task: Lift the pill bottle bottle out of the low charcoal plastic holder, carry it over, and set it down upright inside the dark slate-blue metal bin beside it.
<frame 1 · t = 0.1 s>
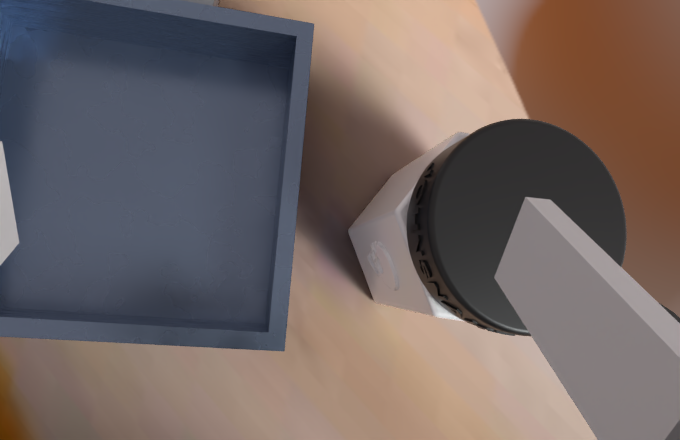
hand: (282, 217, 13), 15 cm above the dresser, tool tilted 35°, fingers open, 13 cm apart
bin: (144, 180, 27), on the dresser
jar: (417, 243, 30), on the dresser
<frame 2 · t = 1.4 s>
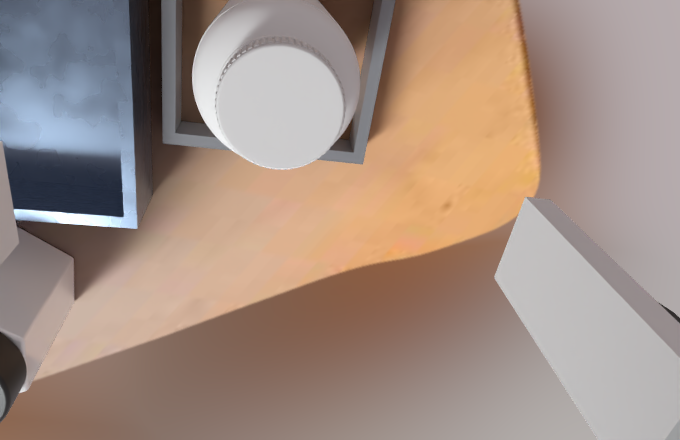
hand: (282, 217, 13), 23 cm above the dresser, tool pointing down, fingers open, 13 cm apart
holder: (276, 44, 33), on the dresser
bin: (19, 72, 32), on the dresser
jar: (22, 272, 39), on the dresser
pill bottle: (275, 44, 33), on the dresser
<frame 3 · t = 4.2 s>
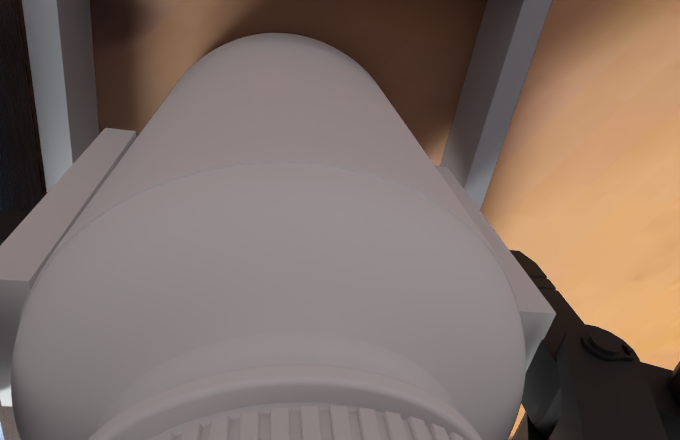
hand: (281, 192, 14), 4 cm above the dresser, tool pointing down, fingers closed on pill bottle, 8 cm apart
holder: (280, 145, 17), on the dresser
pill bottle: (280, 143, 18), on the dresser, touching gripper
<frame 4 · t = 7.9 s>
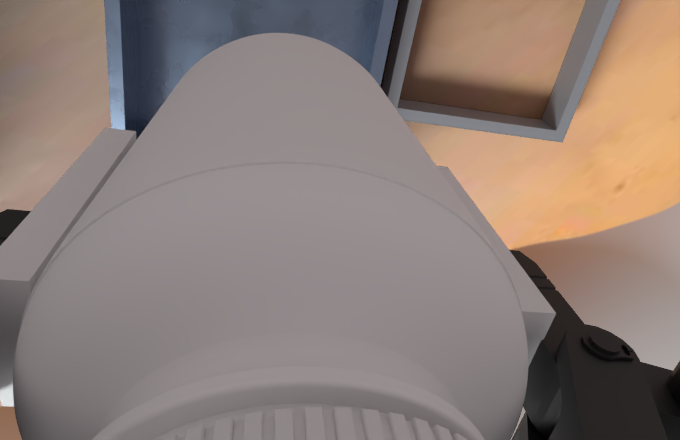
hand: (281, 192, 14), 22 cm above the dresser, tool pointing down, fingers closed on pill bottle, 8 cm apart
holder: (493, 24, 34), on the dresser
bin: (254, 48, 34), on the dresser
pill bottle: (281, 143, 18), point 19 cm above the dresser, touching gripper
when the fingers open (7 cm above the dresser, at t = 12.1 s): pill bottle drops 2 cm, resting on bin.
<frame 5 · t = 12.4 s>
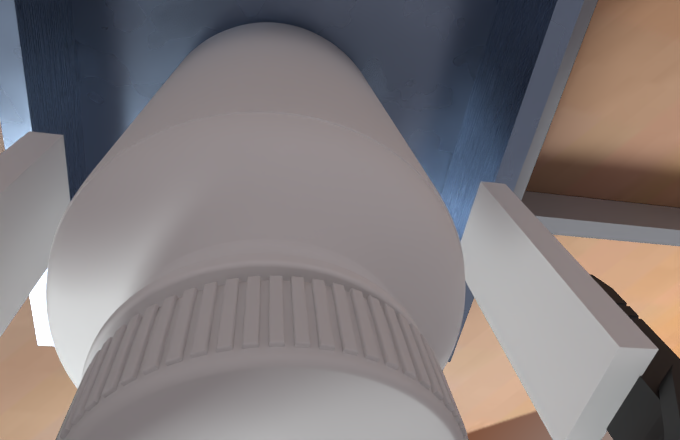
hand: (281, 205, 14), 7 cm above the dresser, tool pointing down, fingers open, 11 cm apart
holder: (668, 75, 21), on the dresser
bin: (280, 118, 20), on the dresser
pill bottle: (271, 124, 19), point 1 cm above the dresser, touching bin
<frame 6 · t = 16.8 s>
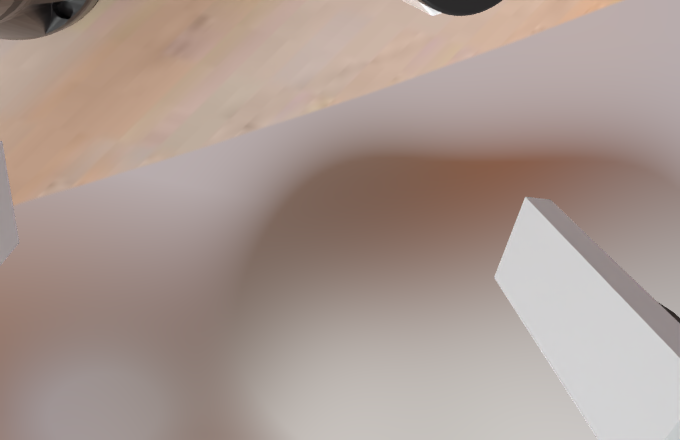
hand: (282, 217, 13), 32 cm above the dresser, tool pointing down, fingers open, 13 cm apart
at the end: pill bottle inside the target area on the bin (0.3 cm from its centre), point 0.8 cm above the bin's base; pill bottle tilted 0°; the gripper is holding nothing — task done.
